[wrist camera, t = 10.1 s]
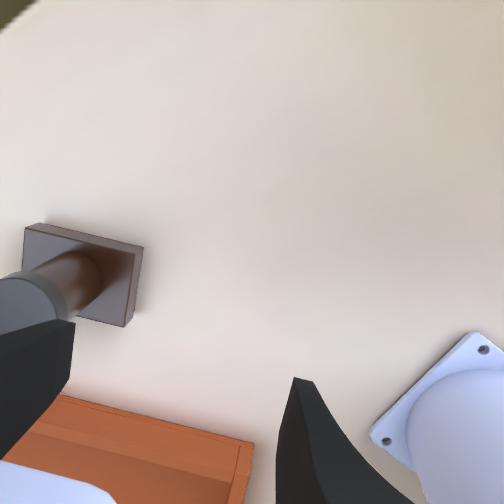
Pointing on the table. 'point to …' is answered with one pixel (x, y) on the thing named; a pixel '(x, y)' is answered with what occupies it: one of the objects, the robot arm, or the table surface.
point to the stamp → (70, 279)
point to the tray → (135, 455)
